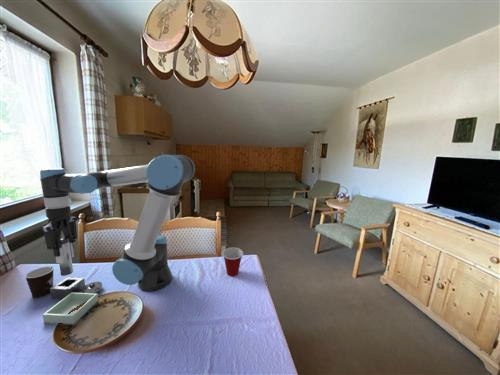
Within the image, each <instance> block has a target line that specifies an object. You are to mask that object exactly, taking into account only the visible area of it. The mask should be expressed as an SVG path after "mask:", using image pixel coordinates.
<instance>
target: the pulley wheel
mask: <svg viewBox="0 0 500 375" xmlns="http://www.w3.org/2000/svg"><path fill="white" fill-rule="evenodd" d="M102 290H103V283H102V282H101V281H93V282H90V283H87V284H85V286H84V287H83V288H82V291H81V292H82V293H95V294H98V295H99V293H101V292H102Z"/></svg>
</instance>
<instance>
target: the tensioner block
mask: <svg viewBox="0 0 500 375" xmlns="http://www.w3.org/2000/svg"><path fill="white" fill-rule="evenodd" d="M85 285H86V280H85V277H71V276H69V277H68V276H67V277H65V278H64V279H61V280H60V281H59V282H58V283H56V284H53V287H51V288H50V297H51V299H50V300H58V301H59V300H60V301H61V300H62V299H64V298H65V297H66V296H68V295H69V294H70V293H71V292H72V293H82V292H83V291H82V288H83V287H84V286H85Z"/></svg>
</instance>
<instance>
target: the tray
mask: <svg viewBox="0 0 500 375" xmlns="http://www.w3.org/2000/svg"><path fill="white" fill-rule="evenodd" d="M87 300H88V301H87ZM85 301H87V302H86V303H85V304H84V305H83V306H82V307H80V308H79V309H78V310H75V311H73V312H71V313H70V314H68V313H69V312H70V311H71V310H72V309H74V308H76V307H77V306H79V305H80V304H82V303H84V302H85ZM97 301H98V302H99V293H98V294H95V293H83V292H80V293H72V292H71V293H70V294H69V295H68V296H66V297H65V298H64V299H62V300H60V301H58V302H57V303H56V304H54V305H53V306H52V307H51V308H49V309H48V310H47V311H45V312H44V313H43V314H42V319H43V324H50V325H51V324H52V325H59V324H58V323H63V324H62V325H69V326H71V325H72V326H73V325H75V324H76V323H77V322H79V320H80V319H82V318H83V317H84V316H85V315H86V314H87V313H88V312H89V311H90V310H91V309H92V308H93V307H94V306H95V305H96V304H97V303H98V302H97ZM96 302H97V303H96ZM95 303H96V304H95Z"/></svg>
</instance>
